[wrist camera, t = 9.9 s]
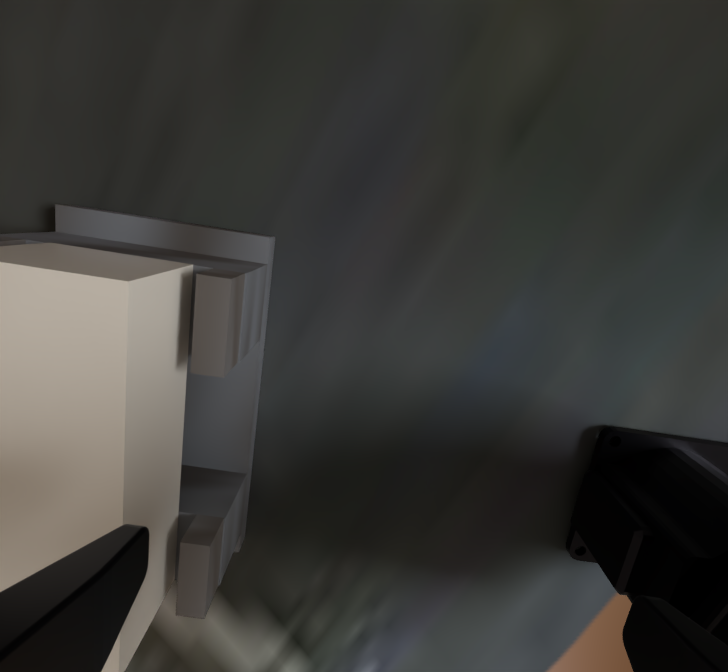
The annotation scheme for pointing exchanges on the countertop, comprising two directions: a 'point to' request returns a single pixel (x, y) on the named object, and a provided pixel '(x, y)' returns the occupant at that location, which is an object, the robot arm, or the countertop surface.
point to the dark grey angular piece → (200, 373)
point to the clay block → (91, 411)
